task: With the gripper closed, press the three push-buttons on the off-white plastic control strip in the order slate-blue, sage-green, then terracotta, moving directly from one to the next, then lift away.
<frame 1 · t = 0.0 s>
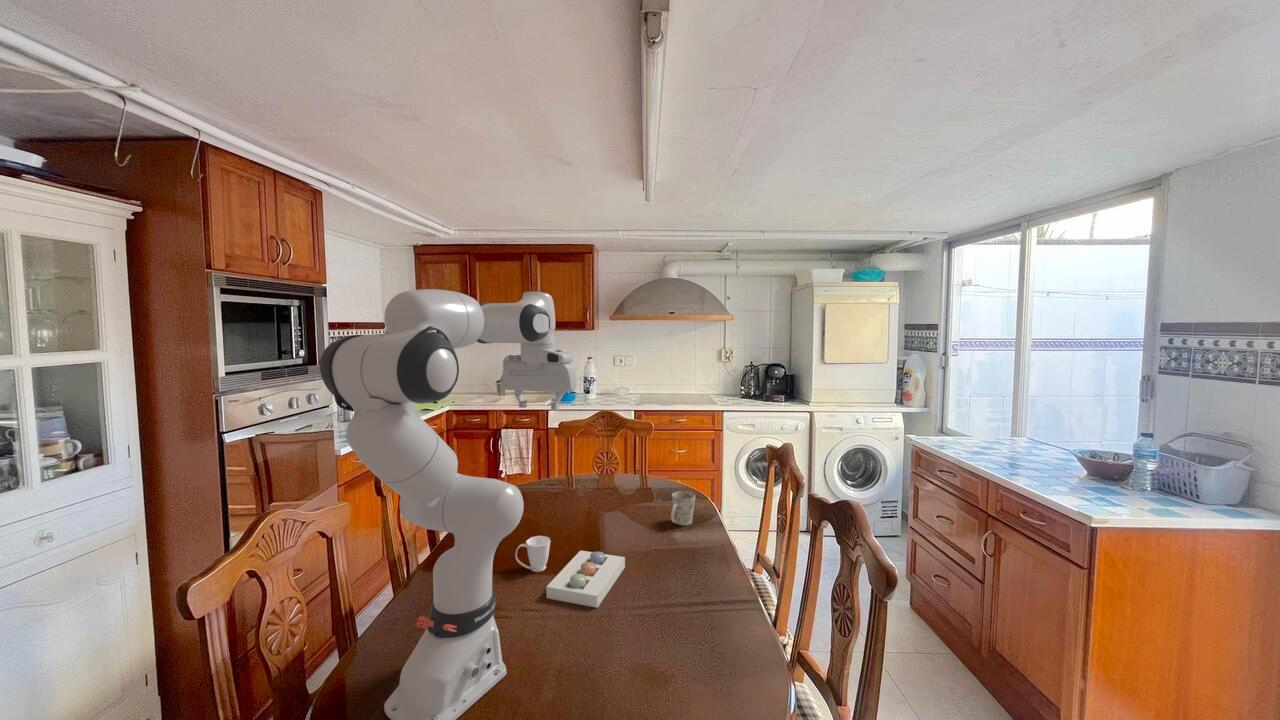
hand: (538, 408, 121), 48 cm above the table, fingers open, 8 cm apart
sage button: (577, 583, 120), point 3 cm above the table, slide at 0.0 cm
mug: (680, 524, 164), on the table
slate button: (597, 559, 132), point 3 cm above the table, slide at 0.0 cm
terracotta button: (588, 571, 126), point 3 cm above the table, slide at 0.0 cm
cup: (533, 568, 133), on the table
button panel: (588, 581, 126), on the table
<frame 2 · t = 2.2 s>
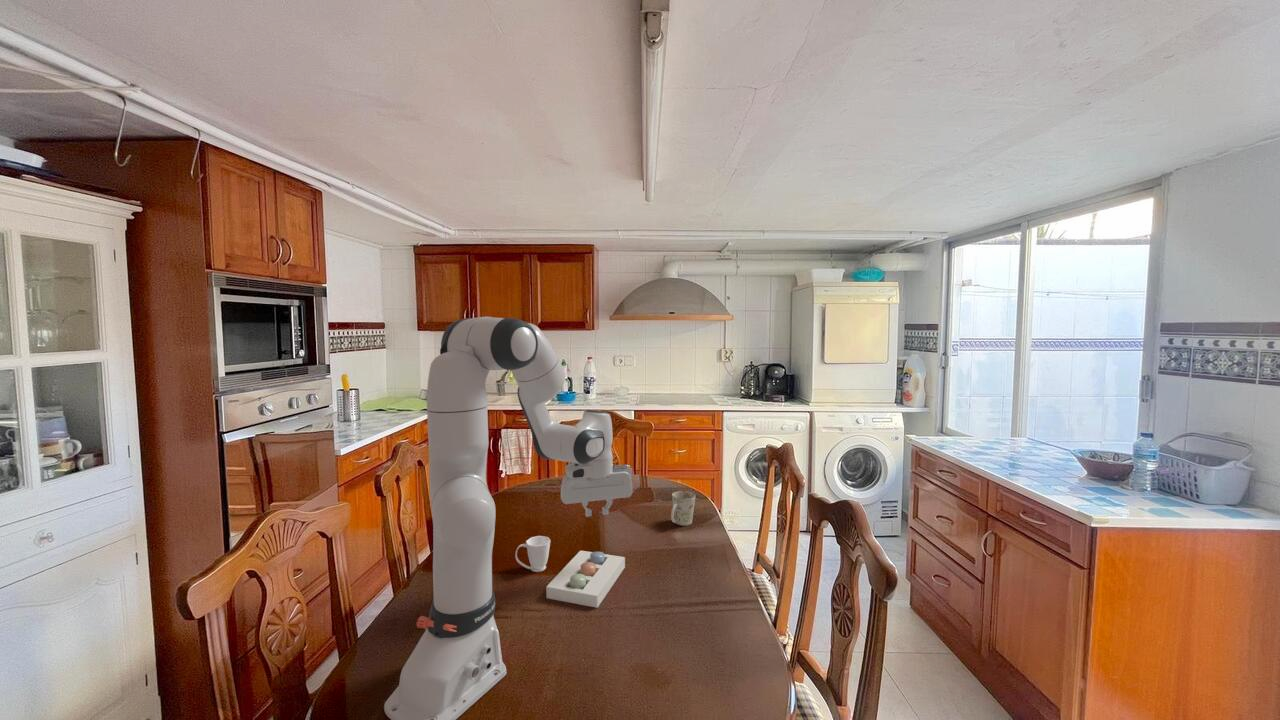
hand: (597, 514, 131), 16 cm above the table, fingers open, 3 cm apart
nothing on the table moved.
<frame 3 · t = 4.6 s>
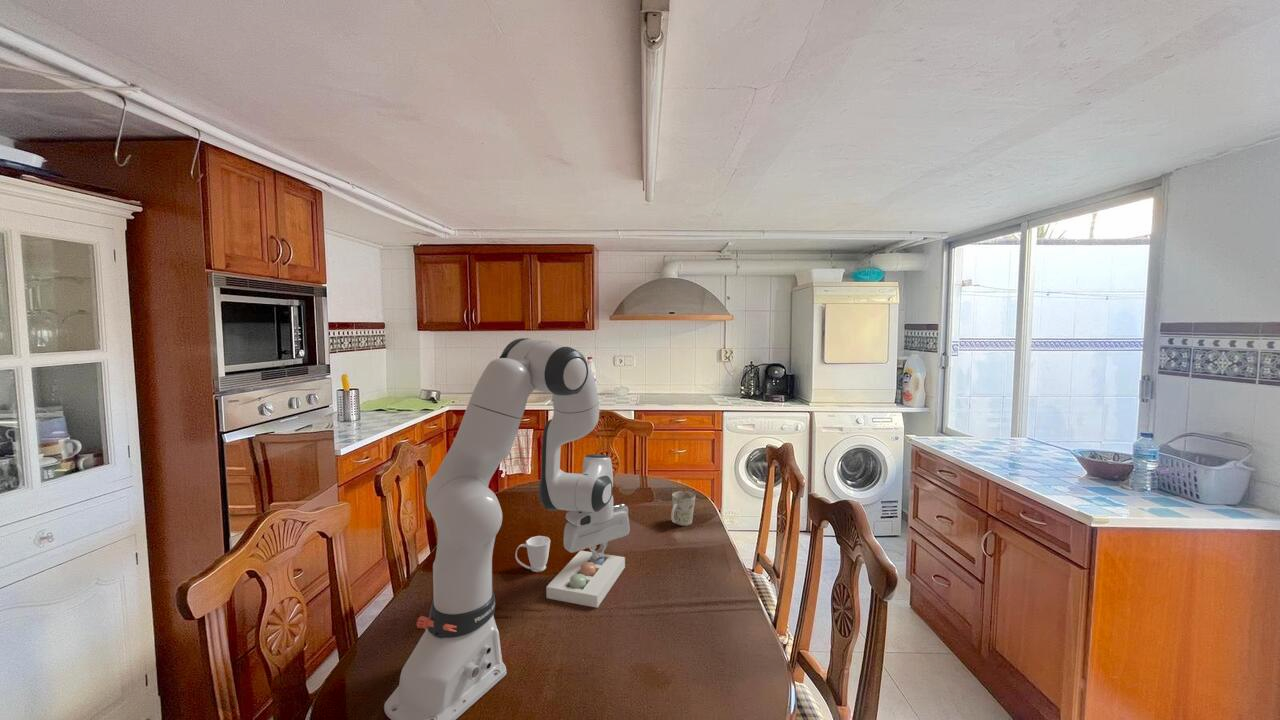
hand: (598, 557, 132), 4 cm above the table, fingers closed, pressing on slate button
slate button: (597, 563, 132), point 2 cm above the table, slide at 1.0 cm, touching gripper
everything else where it was.
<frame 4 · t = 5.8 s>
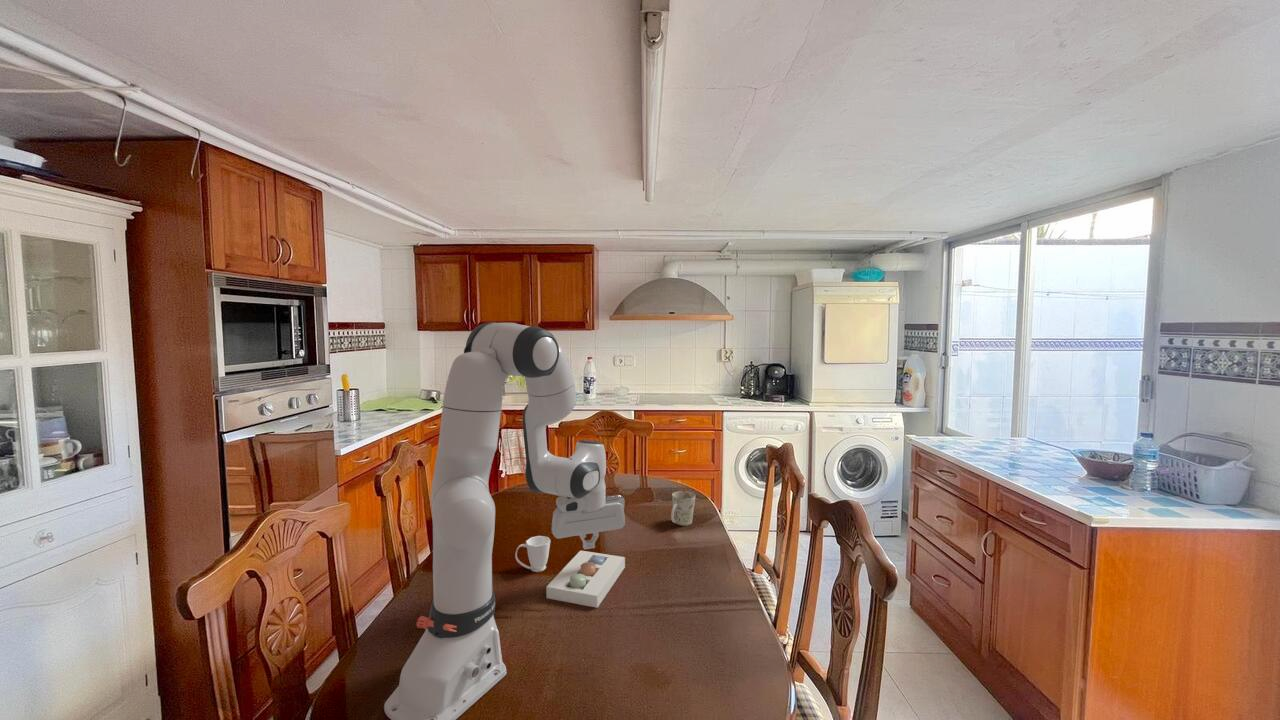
hand: (588, 547, 128), 8 cm above the table, fingers closed
slate button: (597, 563, 132), point 2 cm above the table, slide at 1.2 cm
everything else where it was.
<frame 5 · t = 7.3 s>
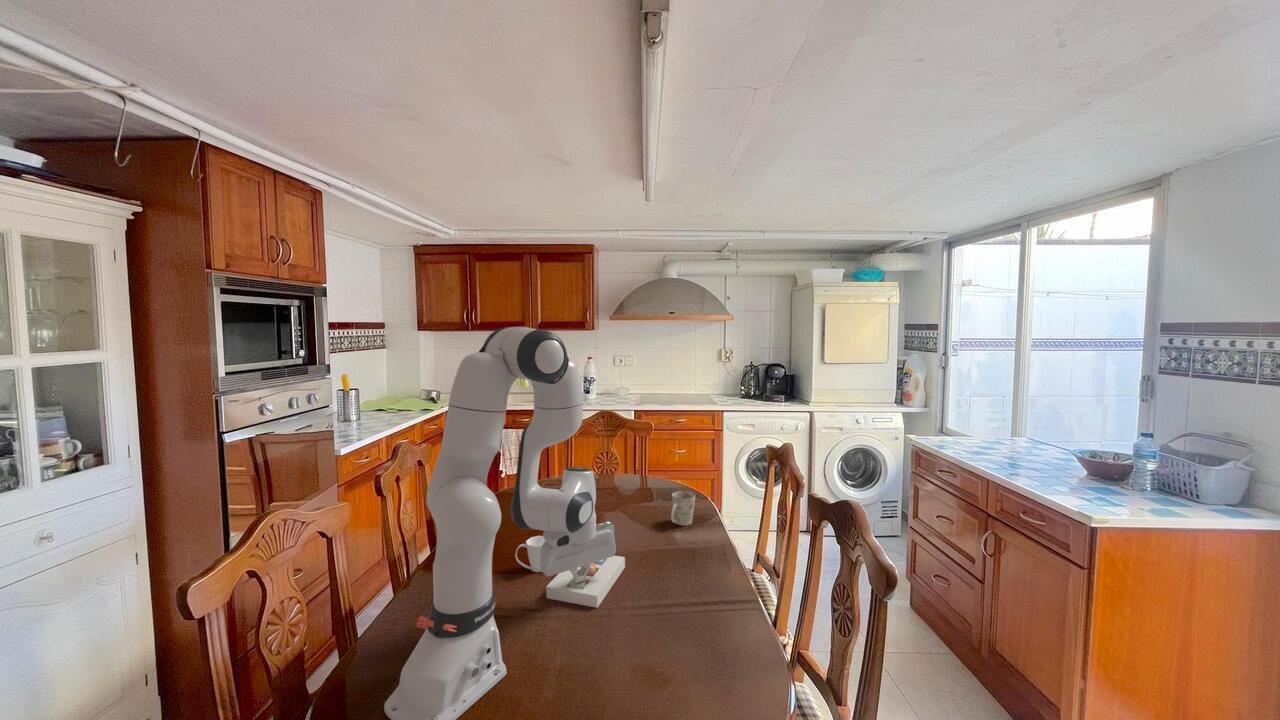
hand: (579, 581, 120), 4 cm above the table, fingers closed, pressing on sage button
sage button: (578, 587, 120), point 2 cm above the table, slide at 1.0 cm, touching gripper
everything else where it was.
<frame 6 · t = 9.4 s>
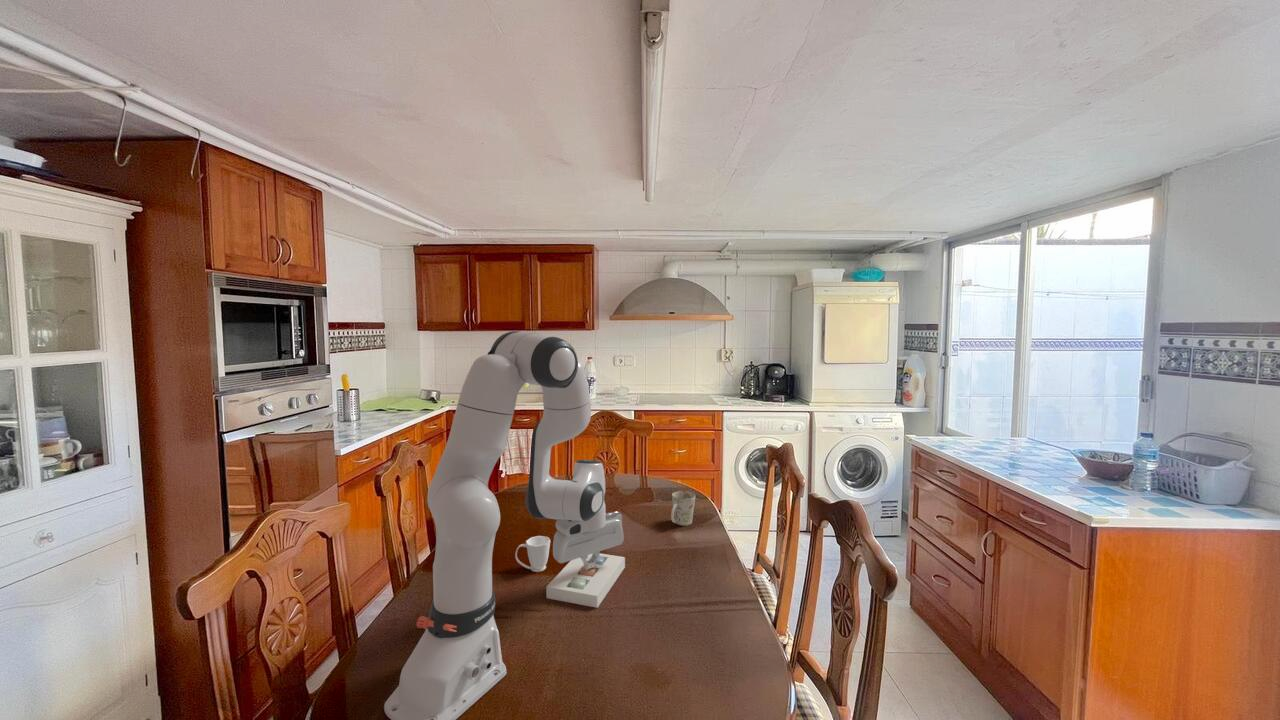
hand: (589, 568, 126), 4 cm above the table, fingers closed, pressing on terracotta button
sage button: (578, 587, 120), point 2 cm above the table, slide at 1.2 cm
terracotta button: (588, 573, 126), point 2 cm above the table, slide at 0.8 cm, touching gripper
everything else where it was.
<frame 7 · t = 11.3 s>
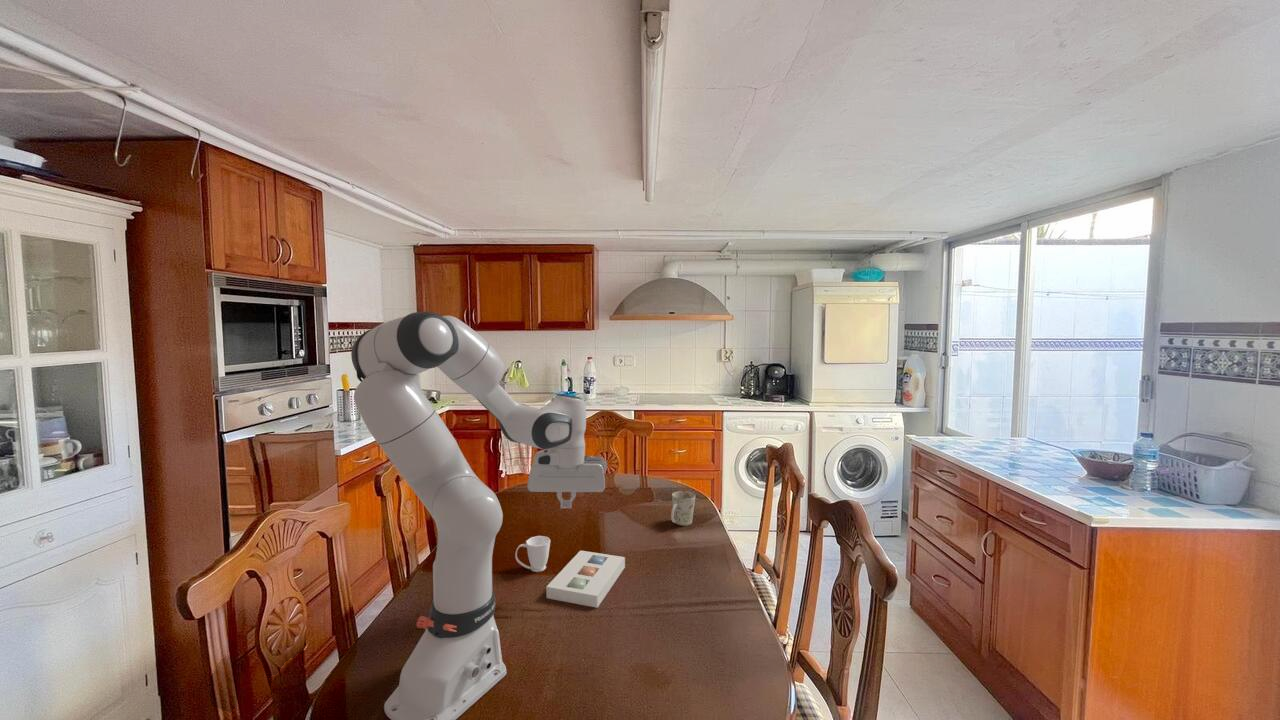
hand: (566, 507, 123), 21 cm above the table, fingers closed
terracotta button: (588, 575, 126), point 2 cm above the table, slide at 1.2 cm
everything else where it was.
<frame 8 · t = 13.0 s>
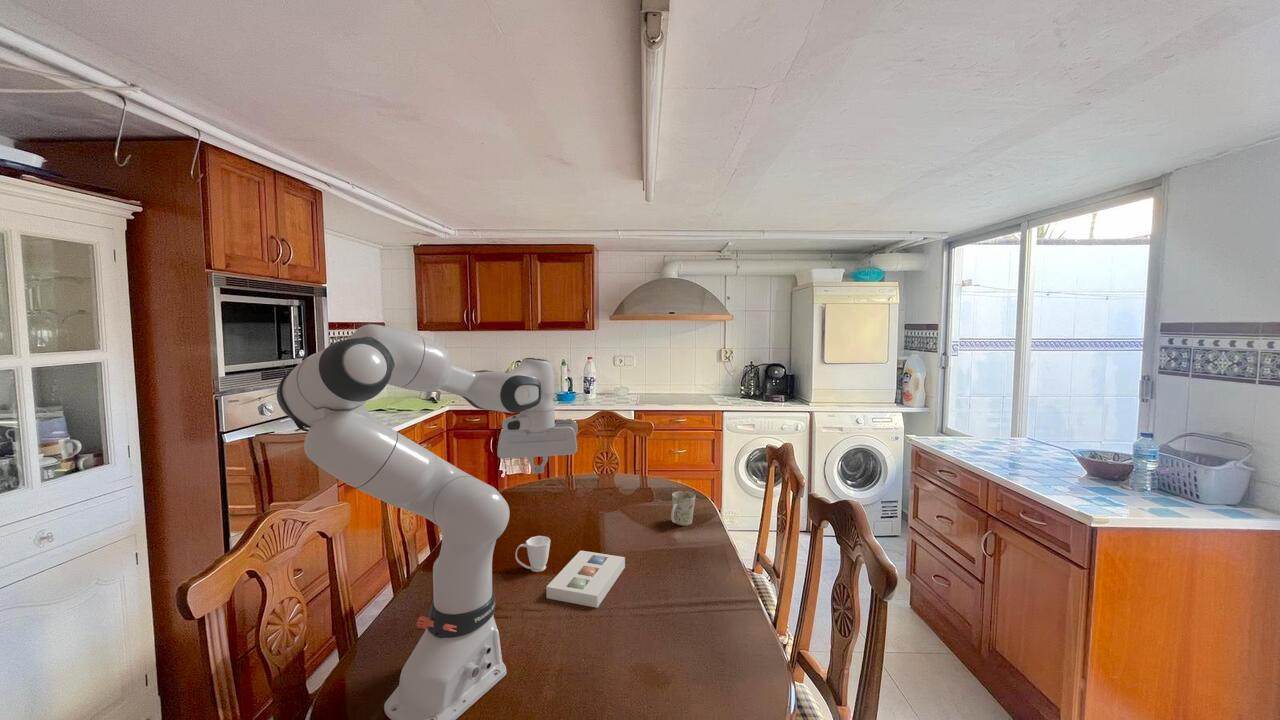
hand: (538, 472, 121), 31 cm above the table, fingers closed
nothing on the table moved.
at the end: slate button slide at 1.2 cm; sage button slide at 1.2 cm; terracotta button slide at 1.2 cm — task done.
